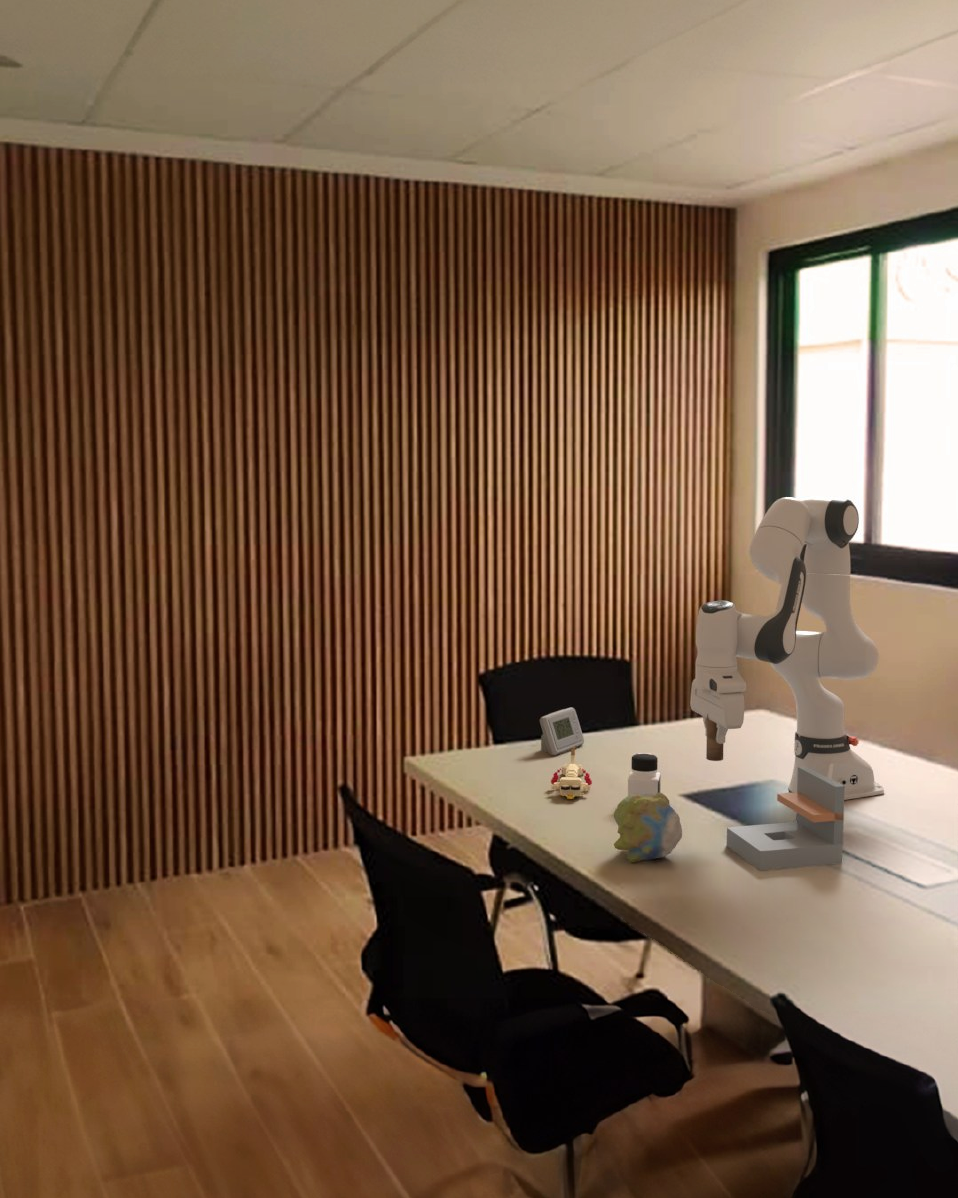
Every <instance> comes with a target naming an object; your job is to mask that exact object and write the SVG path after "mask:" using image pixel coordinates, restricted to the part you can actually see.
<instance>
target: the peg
mask: <svg viewBox="0 0 958 1198" xmlns="http://www.w3.org/2000/svg"><path fill="white" fill-rule="evenodd" d="M717 730H718V728H717V723H715V722H713V721H711V720H710V719H709V717H708V714H707V737H706V751H705V753H706V757H705V758H706V760H707V761H711V762H712V761H713V762H721V761H723V760H724V744H725V743H723V744H719V743H717V742H715V734H717Z"/></svg>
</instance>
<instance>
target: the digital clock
mask: <svg viewBox="0 0 958 1198" xmlns="http://www.w3.org/2000/svg"><path fill="white" fill-rule="evenodd" d="M539 724H540V727H541V730H542V734H541V737H540V744H541V745H540V751H541V752H546V753H549V755H551V756H557V755H562V754H564V753H567V752H569V751H570V752H571V747H575V749H577V748H578V747H581V746H583V745H584V743H585V739H584V735H583V732H582V728H581V725H580V721H579V718H578V715H577V711H576V709H575V708H574V707H572V706H571V707H567V708H563V709H559V710H557V711H554V712H550V713H548V714H546V715H544V716H541V717H540V718H539Z"/></svg>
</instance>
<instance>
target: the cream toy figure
mask: <svg viewBox="0 0 958 1198" xmlns="http://www.w3.org/2000/svg"><path fill="white" fill-rule="evenodd" d="M575 759H576V748H575V747H571V750H570V763H569V764H564V765H563V767H561V768H559V769H557V771H555V772H553V777H552V778H551V779H550V784H551V787H550V789H551V790H553V791H557V790H559V791H557V795H560V796H562V797H566V799H567V800H572V799H573V800H574V798H575V797H580V796H584V795H585V792H588V791H591V785H592V784H593V780H592V779H591V777H590V773H589V772H587V771H586V770H585V769H584V768H583V765H582V764H576V763H575V761H576V760H575ZM559 773H561V774H562V775H564V776H562V777H561V778H560V777H559V775H558V774H559ZM584 774H585V775H584ZM582 775H584V777H583V779H584V781H585V782H582V781H583V780H582V778H581V777H579V776H582ZM558 781H559V782H558ZM582 791H585V792H582Z"/></svg>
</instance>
